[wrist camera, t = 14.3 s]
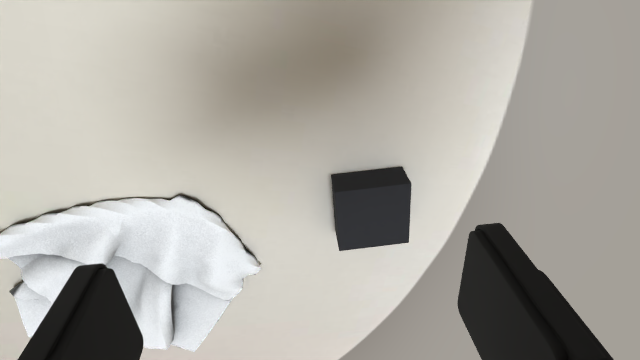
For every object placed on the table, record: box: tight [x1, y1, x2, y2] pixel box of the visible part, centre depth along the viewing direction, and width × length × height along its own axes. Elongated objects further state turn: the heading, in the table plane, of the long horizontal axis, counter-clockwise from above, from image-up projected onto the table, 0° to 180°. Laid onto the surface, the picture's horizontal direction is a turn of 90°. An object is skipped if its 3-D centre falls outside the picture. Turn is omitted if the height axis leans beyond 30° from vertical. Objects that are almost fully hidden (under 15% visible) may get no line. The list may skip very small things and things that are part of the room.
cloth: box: [0, 195, 261, 352], centre depth 33 cm, size 20×22×2 cm
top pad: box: [331, 167, 411, 251], centre depth 31 cm, size 6×6×2 cm
